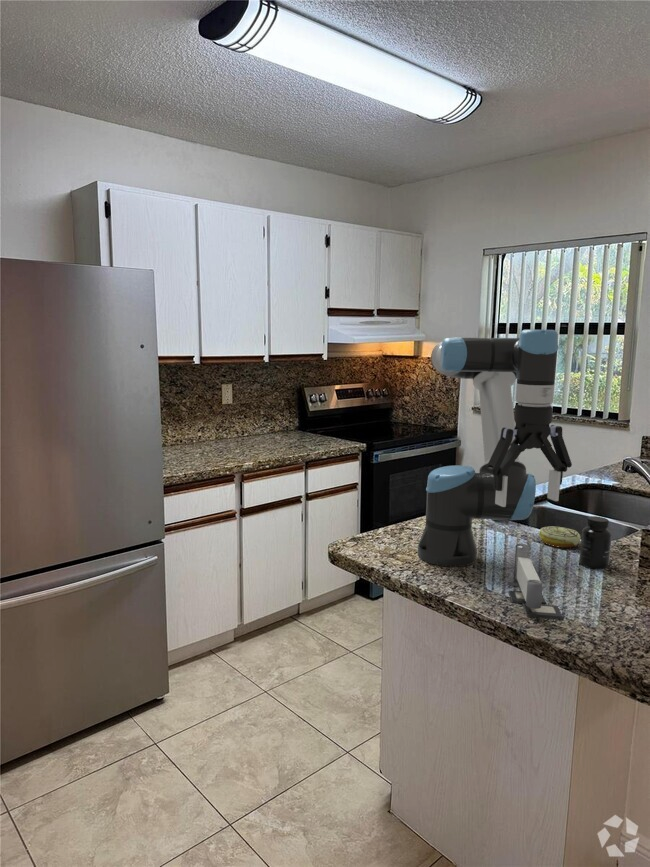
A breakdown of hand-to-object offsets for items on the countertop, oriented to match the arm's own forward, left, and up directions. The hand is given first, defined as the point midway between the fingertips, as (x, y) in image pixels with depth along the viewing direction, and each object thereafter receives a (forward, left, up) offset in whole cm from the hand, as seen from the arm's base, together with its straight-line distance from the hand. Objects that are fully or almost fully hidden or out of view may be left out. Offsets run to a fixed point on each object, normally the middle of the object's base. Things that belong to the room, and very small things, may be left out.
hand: (527, 502), depth 130 cm
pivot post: (-1, +7, -21) cm, 23 cm away
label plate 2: (+6, -6, -21) cm, 23 cm away
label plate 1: (+2, -1, -21) cm, 21 cm away
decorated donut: (+3, +41, -22) cm, 47 cm away
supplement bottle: (+13, +28, -22) cm, 38 cm away
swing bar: (+2, -2, -19) cm, 20 cm away
